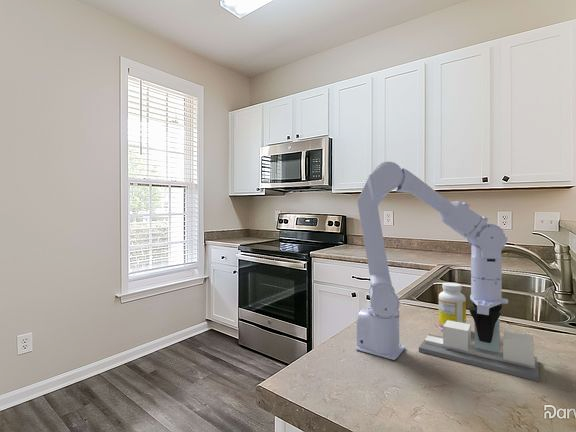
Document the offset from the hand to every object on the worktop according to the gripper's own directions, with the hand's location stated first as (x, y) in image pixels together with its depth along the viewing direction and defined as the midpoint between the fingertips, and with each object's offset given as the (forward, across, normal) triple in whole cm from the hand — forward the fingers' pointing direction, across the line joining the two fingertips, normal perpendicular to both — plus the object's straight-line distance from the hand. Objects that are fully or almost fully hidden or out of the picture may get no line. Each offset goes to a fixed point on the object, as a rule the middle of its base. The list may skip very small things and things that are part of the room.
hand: (486, 338), depth 69 cm
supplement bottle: (+5, +14, +9) cm, 17 cm away
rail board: (+5, 0, +2) cm, 5 cm away
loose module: (+2, 0, 0) cm, 2 cm away
